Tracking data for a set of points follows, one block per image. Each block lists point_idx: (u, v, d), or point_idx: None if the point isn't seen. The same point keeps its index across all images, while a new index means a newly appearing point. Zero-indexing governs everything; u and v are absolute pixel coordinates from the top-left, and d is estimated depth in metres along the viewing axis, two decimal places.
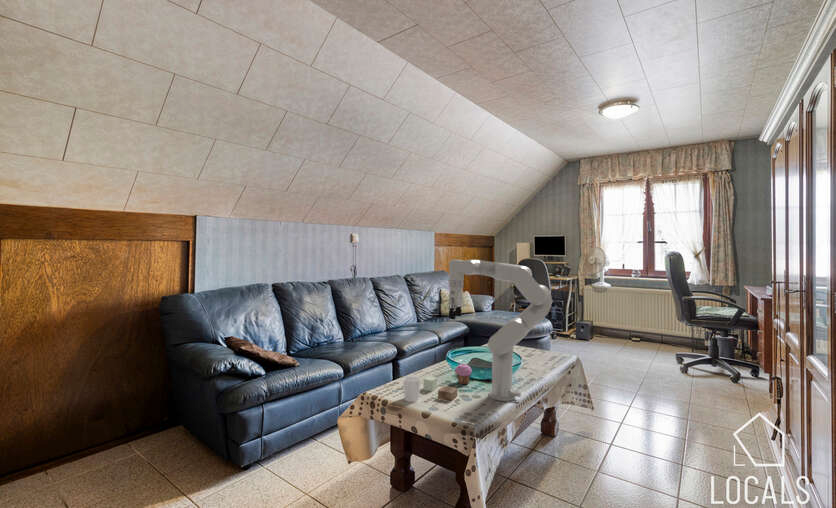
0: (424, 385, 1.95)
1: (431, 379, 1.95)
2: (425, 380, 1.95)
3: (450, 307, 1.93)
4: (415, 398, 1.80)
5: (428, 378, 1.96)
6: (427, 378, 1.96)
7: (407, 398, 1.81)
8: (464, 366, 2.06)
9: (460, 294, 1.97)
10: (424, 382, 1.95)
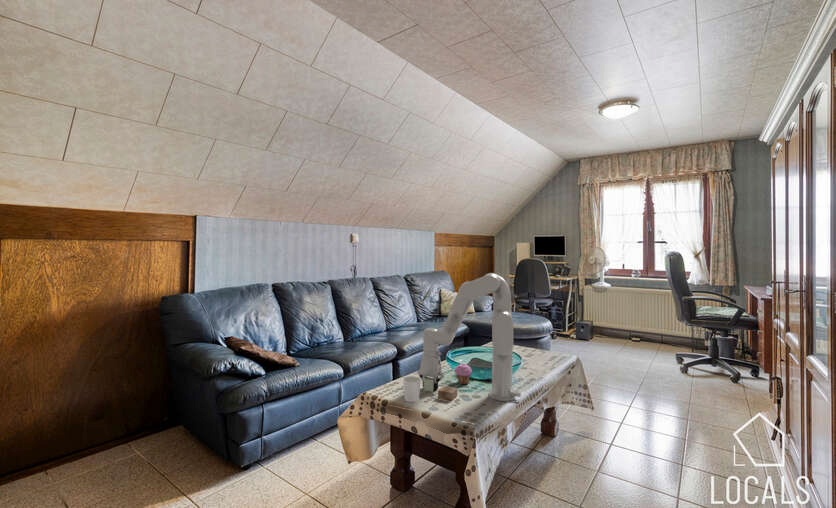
0: (424, 385, 1.95)
1: (431, 379, 1.95)
2: (425, 380, 1.95)
3: (440, 379, 1.94)
4: (415, 398, 1.80)
5: (428, 378, 1.96)
6: (427, 378, 1.96)
7: (407, 398, 1.81)
8: (464, 366, 2.06)
9: None
10: (424, 382, 1.95)
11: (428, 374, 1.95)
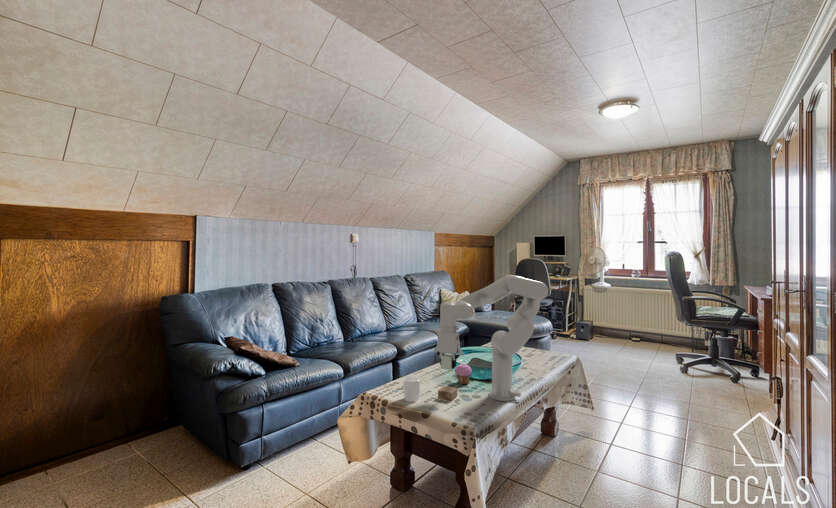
0: (442, 362, 1.85)
1: (449, 356, 1.84)
2: (443, 357, 1.84)
3: None
4: (415, 398, 1.80)
5: (446, 355, 1.86)
6: (445, 355, 1.86)
7: (407, 398, 1.81)
8: (464, 366, 2.06)
9: None
10: (442, 359, 1.85)
11: (446, 350, 1.84)
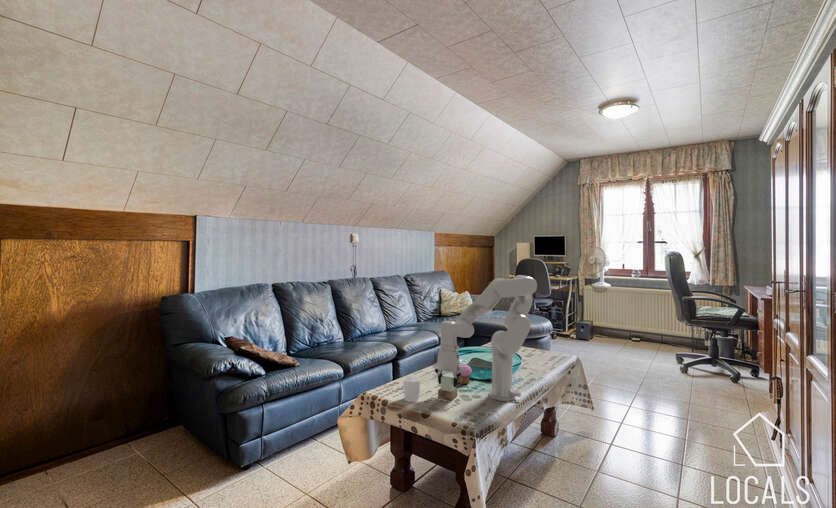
0: (442, 384, 1.84)
1: (449, 377, 1.84)
2: (443, 378, 1.84)
3: None
4: (415, 398, 1.80)
5: (446, 376, 1.86)
6: (445, 376, 1.86)
7: (407, 398, 1.81)
8: (464, 366, 2.06)
9: None
10: (442, 381, 1.84)
11: (446, 369, 1.84)
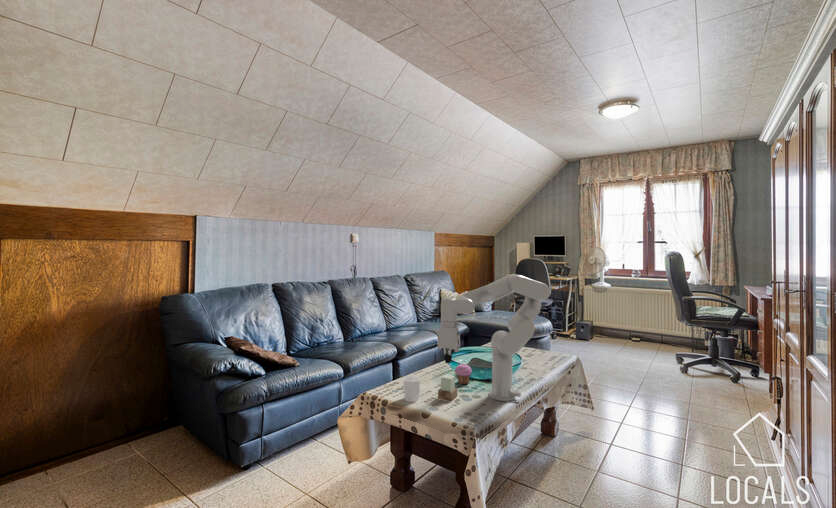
0: (442, 384, 1.84)
1: (449, 377, 1.84)
2: (443, 378, 1.84)
3: None
4: (415, 398, 1.80)
5: (446, 376, 1.86)
6: (445, 376, 1.86)
7: (407, 398, 1.81)
8: (464, 366, 2.06)
9: None
10: (442, 381, 1.84)
11: (446, 346, 1.84)
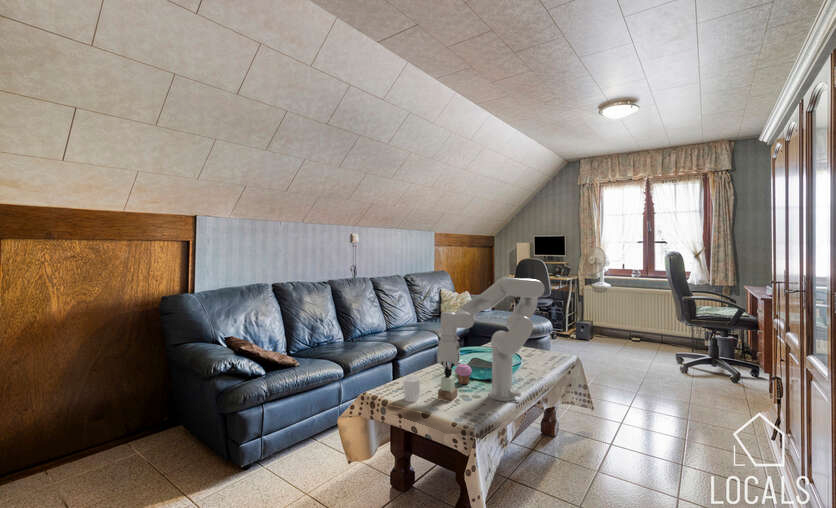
0: (442, 384, 1.84)
1: (449, 377, 1.84)
2: (443, 378, 1.84)
3: None
4: (415, 398, 1.80)
5: None
6: None
7: (407, 398, 1.81)
8: (464, 366, 2.06)
9: None
10: (442, 381, 1.84)
11: (446, 360, 1.84)
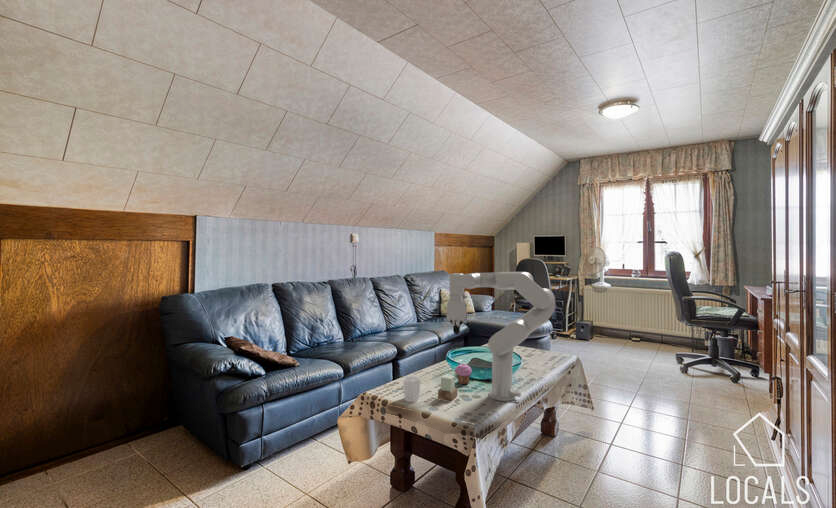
0: (442, 384, 1.84)
1: (449, 377, 1.84)
2: (443, 378, 1.84)
3: None
4: (415, 398, 1.80)
5: (446, 376, 1.86)
6: (445, 376, 1.86)
7: (407, 398, 1.81)
8: (464, 366, 2.06)
9: None
10: (442, 381, 1.84)
11: (455, 318, 1.97)
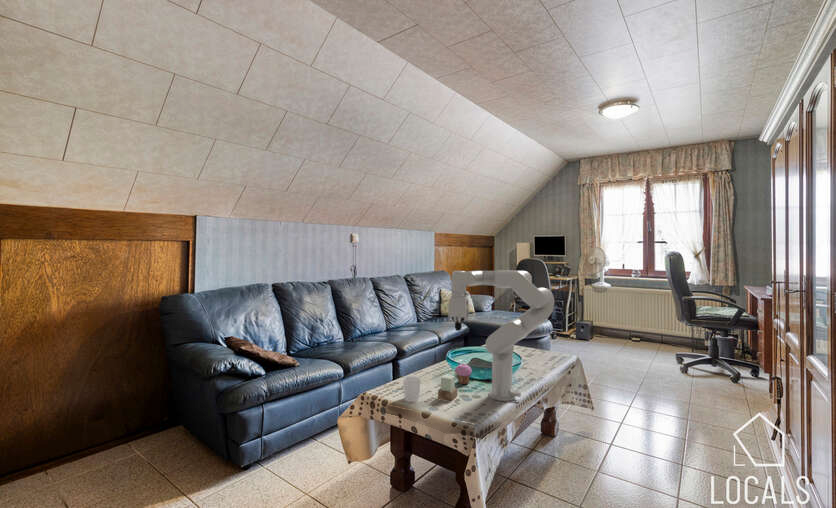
0: (442, 384, 1.84)
1: (449, 377, 1.84)
2: (443, 378, 1.84)
3: (464, 319, 2.01)
4: (415, 398, 1.80)
5: (446, 376, 1.86)
6: (445, 376, 1.86)
7: (407, 398, 1.81)
8: (464, 366, 2.06)
9: None
10: (442, 381, 1.84)
11: (456, 314, 2.00)
